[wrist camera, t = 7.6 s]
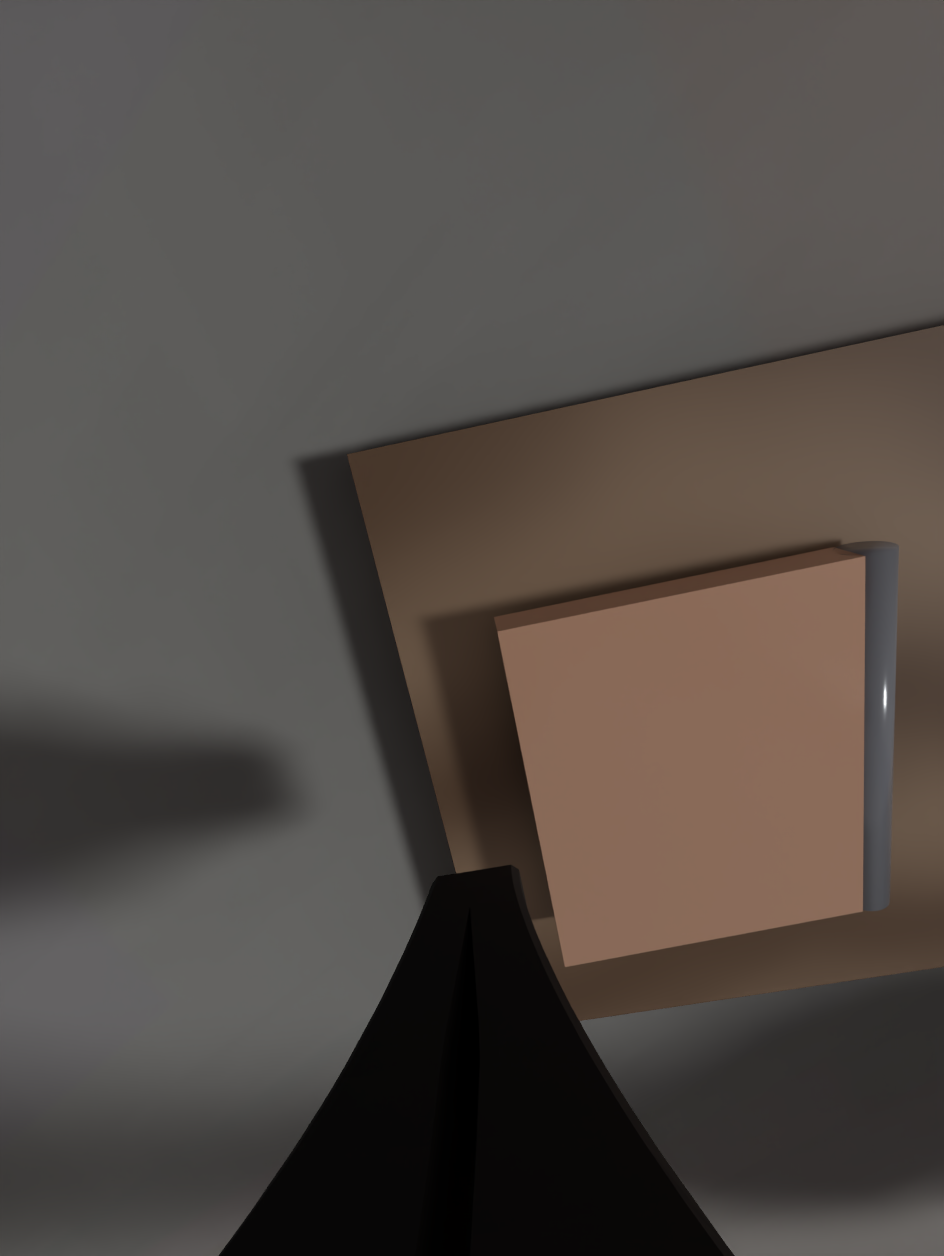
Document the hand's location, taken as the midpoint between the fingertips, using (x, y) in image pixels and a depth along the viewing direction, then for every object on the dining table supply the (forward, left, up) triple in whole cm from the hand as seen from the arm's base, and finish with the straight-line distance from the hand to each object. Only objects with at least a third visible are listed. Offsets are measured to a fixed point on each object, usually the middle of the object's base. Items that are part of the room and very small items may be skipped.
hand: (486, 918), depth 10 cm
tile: (0, -5, -2) cm, 5 cm away
